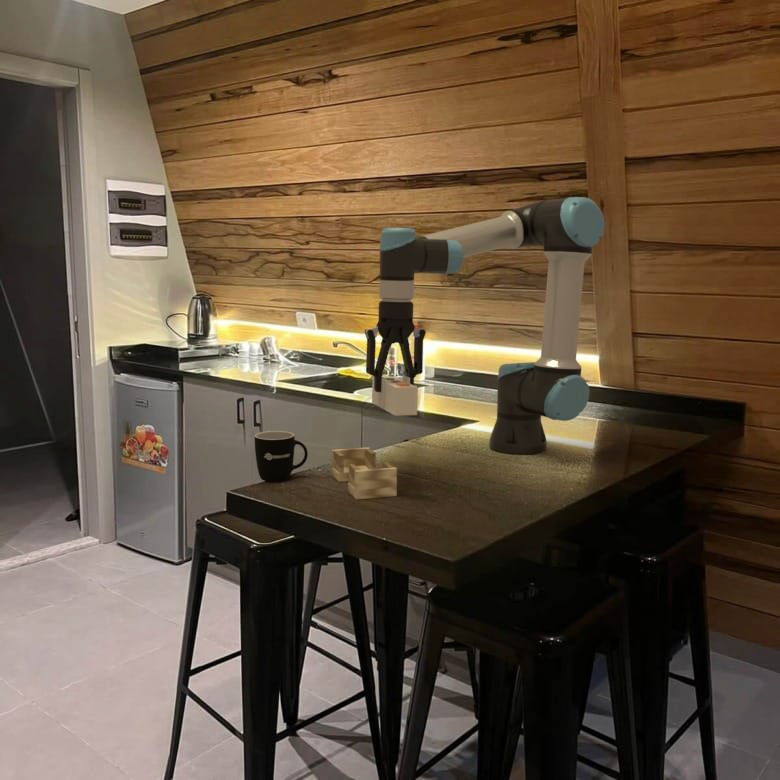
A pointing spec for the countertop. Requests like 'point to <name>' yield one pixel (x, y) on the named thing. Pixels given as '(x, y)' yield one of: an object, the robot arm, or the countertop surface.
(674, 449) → the countertop surface
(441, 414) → the countertop surface
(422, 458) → the countertop surface
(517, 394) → the robot arm
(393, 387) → the power strip
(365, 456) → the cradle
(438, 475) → the countertop surface
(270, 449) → the mug
